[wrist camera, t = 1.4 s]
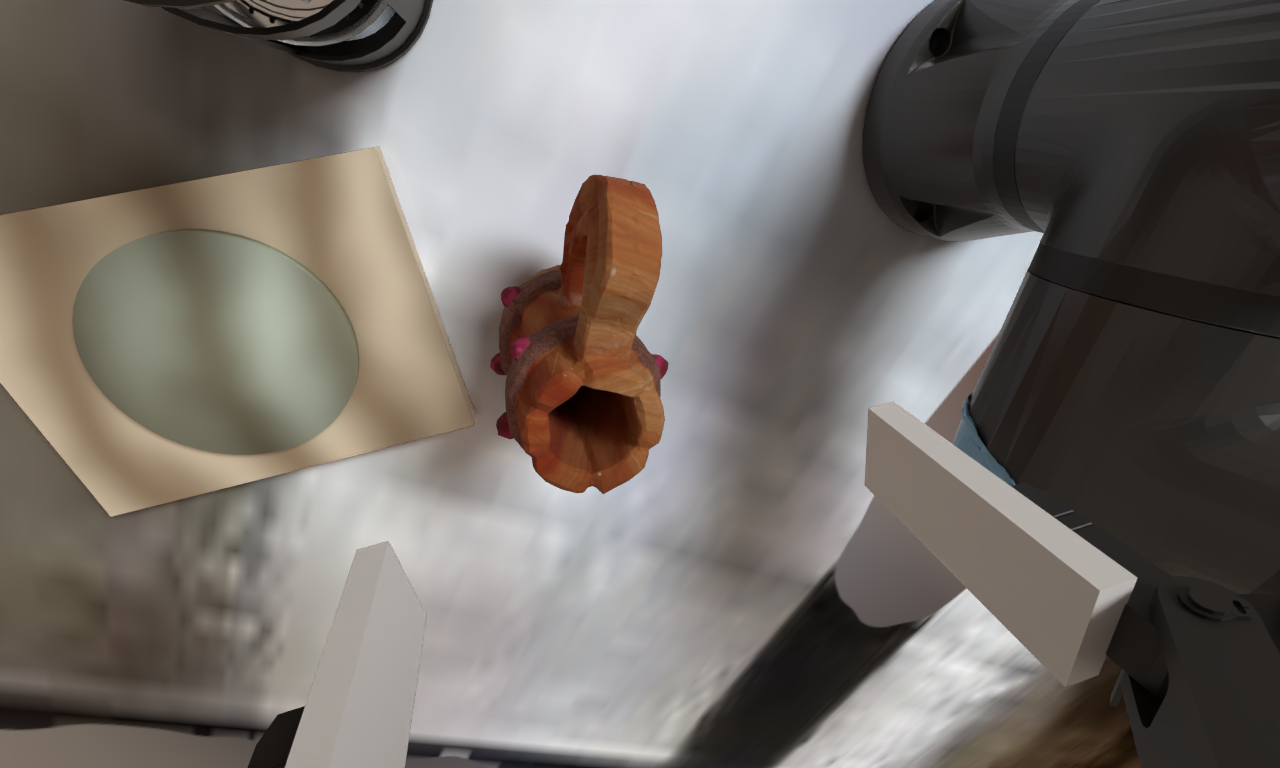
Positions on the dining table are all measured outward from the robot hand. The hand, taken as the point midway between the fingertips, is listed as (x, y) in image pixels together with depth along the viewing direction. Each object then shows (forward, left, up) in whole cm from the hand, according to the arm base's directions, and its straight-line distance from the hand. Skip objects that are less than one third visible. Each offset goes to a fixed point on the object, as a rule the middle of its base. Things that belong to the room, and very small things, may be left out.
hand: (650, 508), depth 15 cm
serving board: (+19, -1, -22) cm, 29 cm away
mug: (0, 0, -23) cm, 23 cm away
